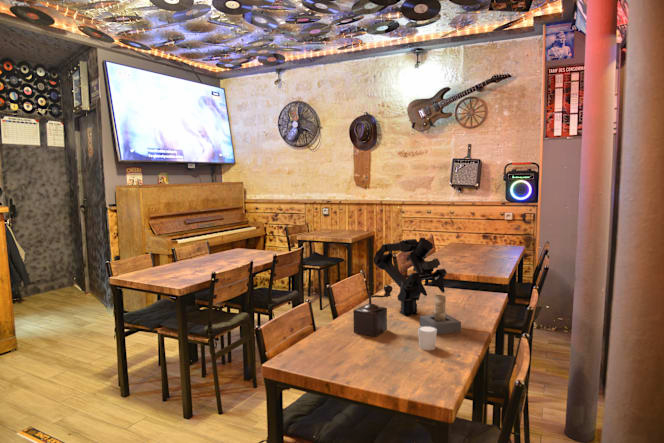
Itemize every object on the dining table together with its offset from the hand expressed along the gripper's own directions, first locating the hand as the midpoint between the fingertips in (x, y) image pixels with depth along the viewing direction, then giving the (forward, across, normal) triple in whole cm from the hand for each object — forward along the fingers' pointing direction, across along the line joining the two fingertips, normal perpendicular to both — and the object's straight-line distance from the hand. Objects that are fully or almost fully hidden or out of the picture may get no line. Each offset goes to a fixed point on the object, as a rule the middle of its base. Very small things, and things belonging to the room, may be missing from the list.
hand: (435, 293), depth 177 cm
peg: (+12, -1, +7) cm, 14 cm away
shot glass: (+22, -18, -3) cm, 28 cm away
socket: (+12, -1, +7) cm, 14 cm away
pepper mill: (+4, -25, +15) cm, 30 cm away
